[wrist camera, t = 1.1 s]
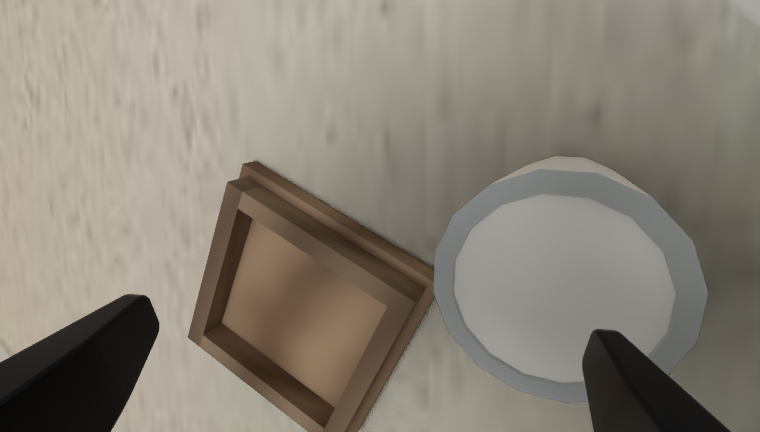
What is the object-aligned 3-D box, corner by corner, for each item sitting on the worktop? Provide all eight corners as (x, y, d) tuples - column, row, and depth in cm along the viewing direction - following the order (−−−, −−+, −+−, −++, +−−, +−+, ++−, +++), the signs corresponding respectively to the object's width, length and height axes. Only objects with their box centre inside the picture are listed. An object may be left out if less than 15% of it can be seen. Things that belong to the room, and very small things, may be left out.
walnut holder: (445, 277, 20) (429, 300, 18) (358, 430, 25) (337, 462, 23) (255, 161, 23) (222, 168, 21) (211, 319, 28) (180, 338, 26)
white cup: (572, 329, 19) (569, 448, 12) (448, 230, 20) (390, 294, 14) (706, 213, 15) (790, 295, 9) (549, 104, 17) (533, 113, 10)
